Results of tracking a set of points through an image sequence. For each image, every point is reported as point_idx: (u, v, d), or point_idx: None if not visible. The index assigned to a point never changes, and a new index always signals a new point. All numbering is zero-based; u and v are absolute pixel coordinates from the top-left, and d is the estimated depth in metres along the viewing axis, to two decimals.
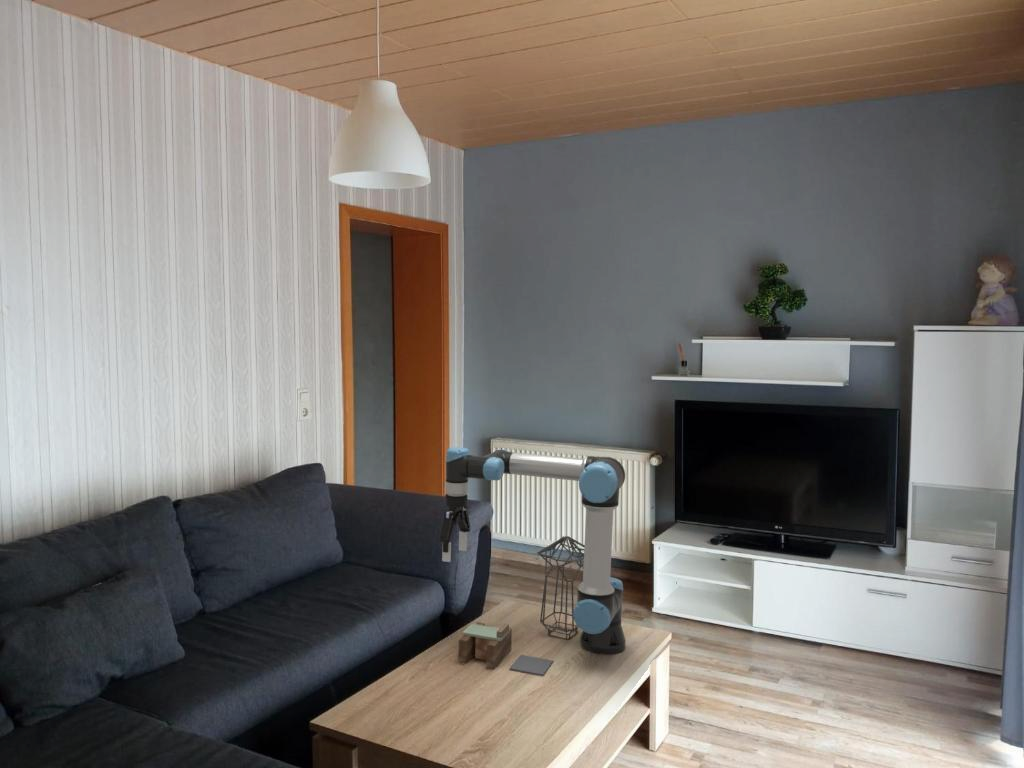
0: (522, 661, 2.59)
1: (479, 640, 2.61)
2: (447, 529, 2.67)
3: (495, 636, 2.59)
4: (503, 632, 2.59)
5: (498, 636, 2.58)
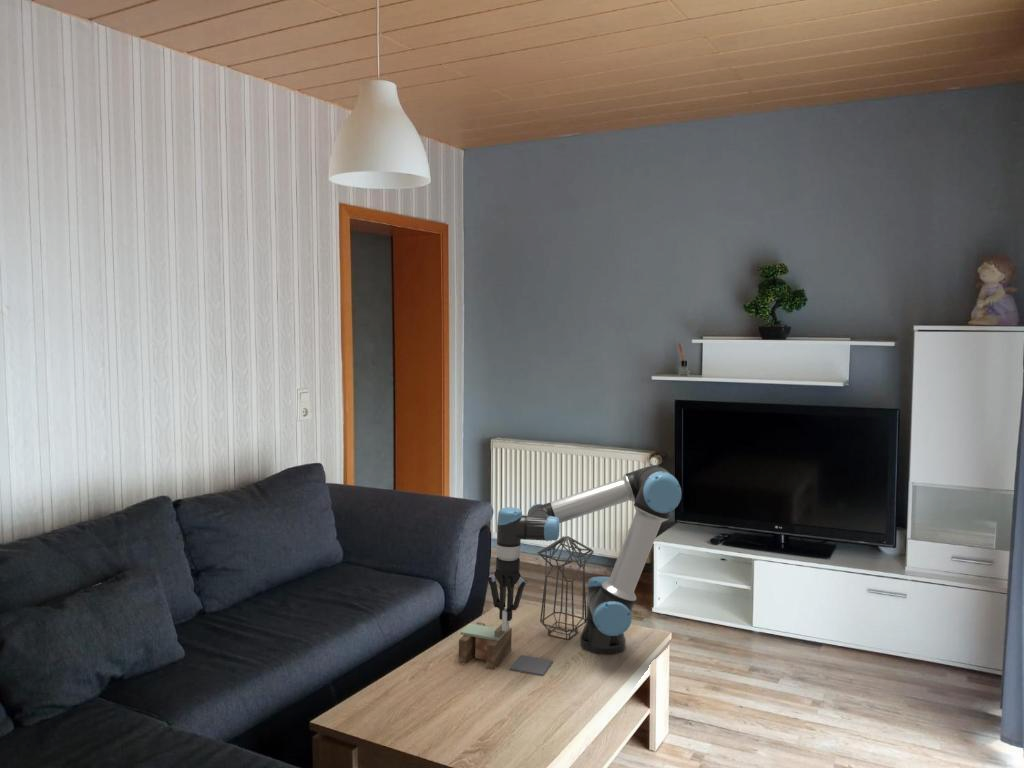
0: (522, 661, 2.59)
1: (479, 640, 2.61)
2: None
3: (493, 636, 2.59)
4: (501, 632, 2.59)
5: (496, 636, 2.58)
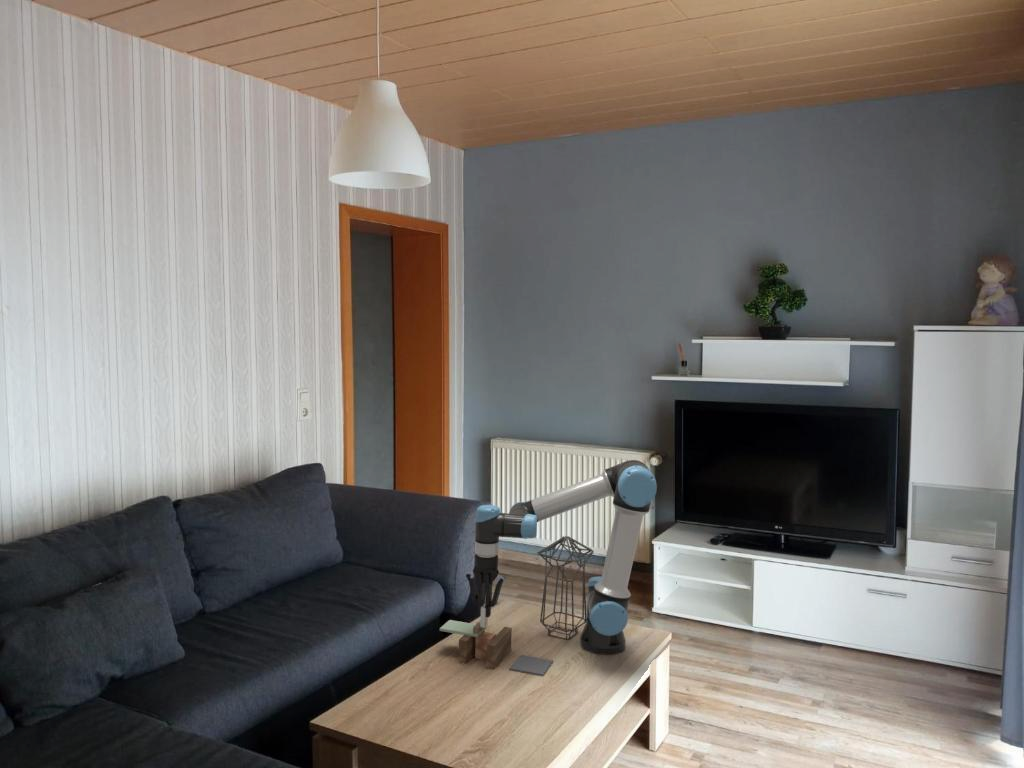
0: (522, 661, 2.59)
1: (479, 640, 2.61)
2: None
3: (472, 632, 2.61)
4: (480, 628, 2.62)
5: (474, 632, 2.60)
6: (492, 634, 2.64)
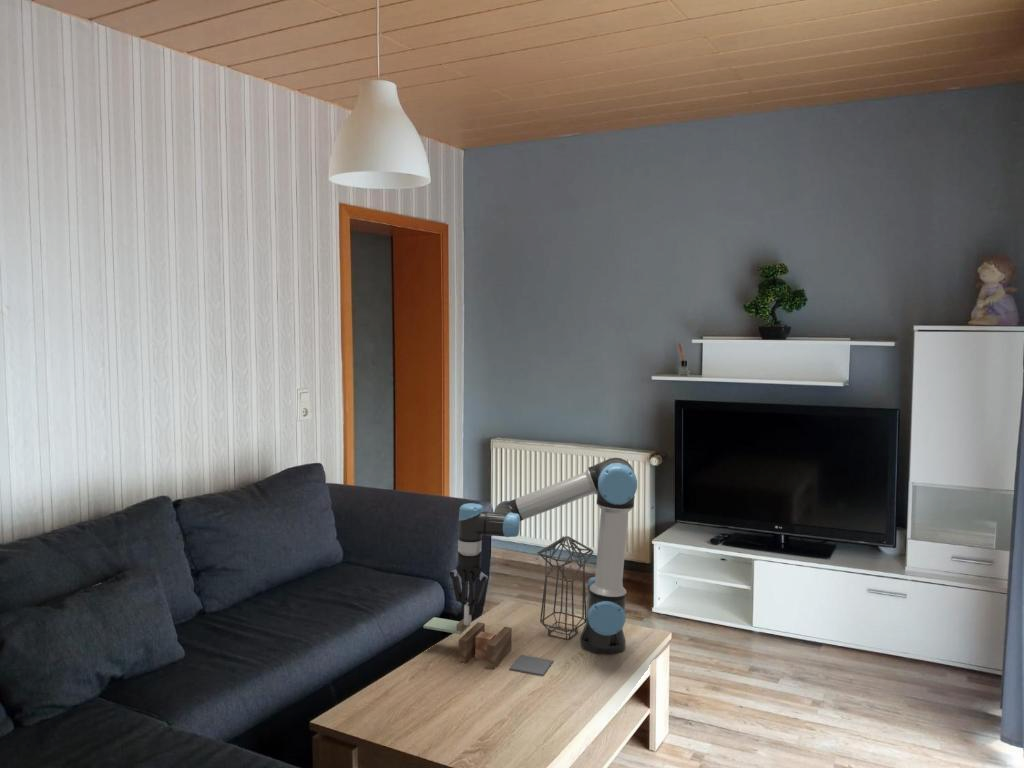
0: (522, 661, 2.59)
1: (479, 640, 2.61)
2: None
3: (455, 629, 2.63)
4: (463, 625, 2.64)
5: (458, 629, 2.62)
6: (492, 634, 2.64)
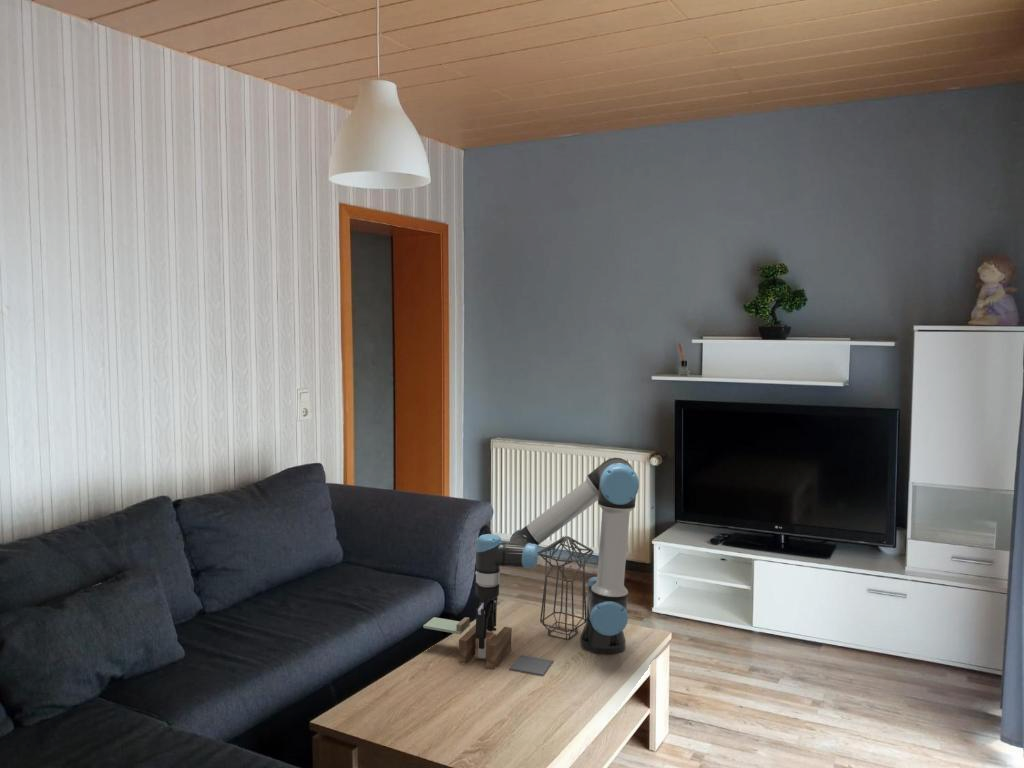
0: (522, 661, 2.59)
1: None
2: (481, 626, 2.56)
3: (455, 629, 2.63)
4: (463, 625, 2.64)
5: (458, 629, 2.62)
6: (492, 633, 2.64)
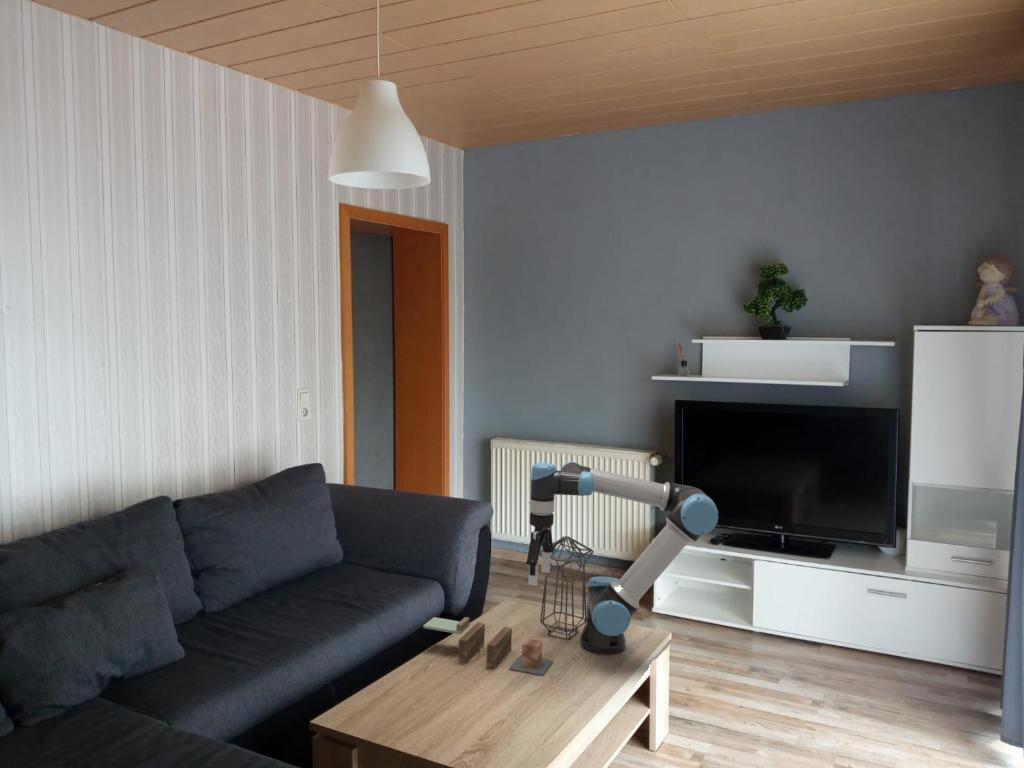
0: None
1: (526, 647, 2.55)
2: (535, 551, 2.50)
3: (455, 629, 2.63)
4: (463, 625, 2.64)
5: (458, 629, 2.62)
6: (538, 641, 2.58)
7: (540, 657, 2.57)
